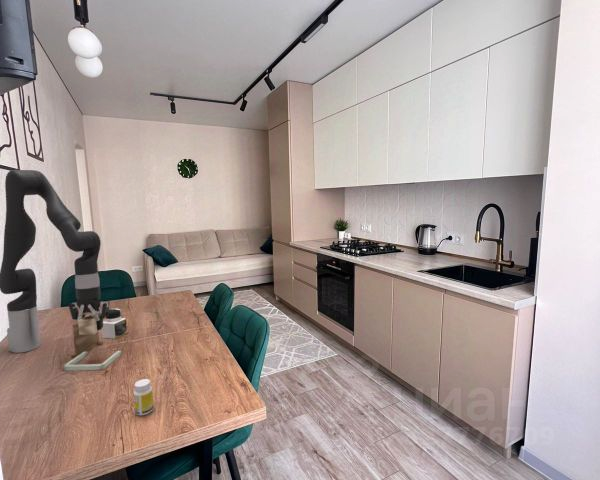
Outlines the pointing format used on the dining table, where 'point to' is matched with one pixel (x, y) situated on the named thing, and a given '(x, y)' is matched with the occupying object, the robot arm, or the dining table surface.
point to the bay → (102, 366)
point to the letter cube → (88, 325)
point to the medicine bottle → (114, 325)
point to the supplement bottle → (143, 397)
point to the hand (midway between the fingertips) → (91, 329)
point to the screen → (84, 341)
